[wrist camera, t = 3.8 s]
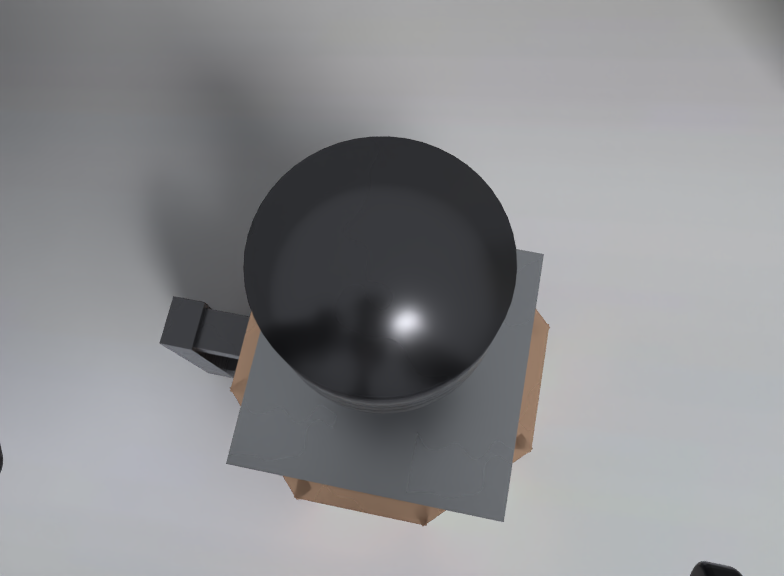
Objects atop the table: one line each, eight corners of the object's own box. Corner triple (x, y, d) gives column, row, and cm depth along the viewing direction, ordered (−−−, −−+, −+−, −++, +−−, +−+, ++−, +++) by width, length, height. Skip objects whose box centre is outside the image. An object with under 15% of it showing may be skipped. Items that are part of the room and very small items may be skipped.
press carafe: (489, 532, 20) (521, 547, 15) (185, 468, 21) (104, 459, 15) (524, 304, 22) (564, 240, 16) (244, 252, 23) (191, 173, 17)
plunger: (473, 487, 16) (535, 481, 8) (272, 445, 17) (153, 403, 9) (505, 292, 18) (584, 129, 10) (318, 256, 18) (249, 72, 10)
